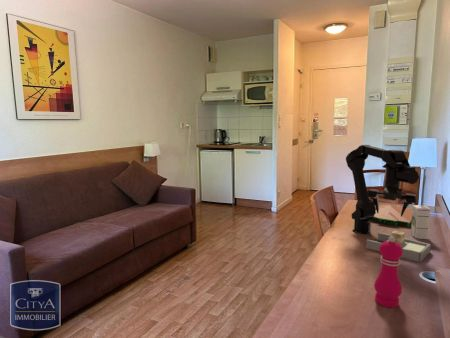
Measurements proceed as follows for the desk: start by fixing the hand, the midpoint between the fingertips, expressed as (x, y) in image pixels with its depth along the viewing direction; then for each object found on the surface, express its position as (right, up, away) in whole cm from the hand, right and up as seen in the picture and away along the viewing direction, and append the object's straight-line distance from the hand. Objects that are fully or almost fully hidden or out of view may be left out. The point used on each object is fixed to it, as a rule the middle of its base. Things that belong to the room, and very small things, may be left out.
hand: (389, 214), depth 141 cm
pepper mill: (-24, -19, -46) cm, 55 cm away
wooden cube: (+2, -11, -3) cm, 12 cm away
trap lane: (0, -14, -6) cm, 15 cm away
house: (+21, -8, +41) cm, 47 cm away
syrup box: (+19, -12, +11) cm, 25 cm away
